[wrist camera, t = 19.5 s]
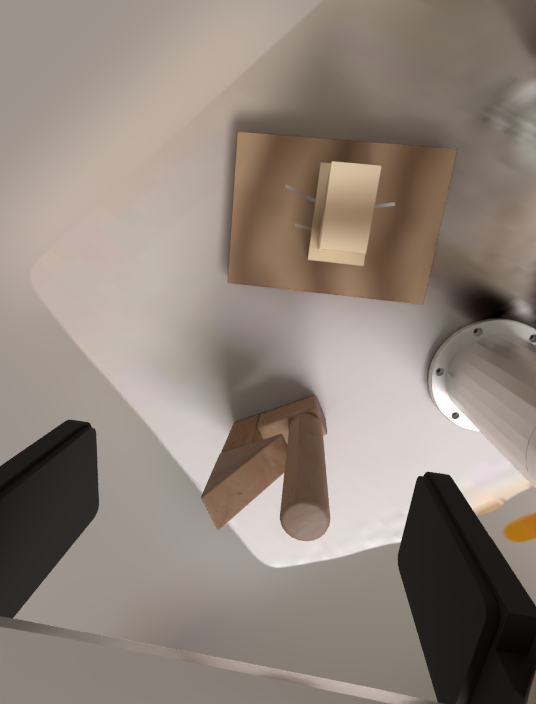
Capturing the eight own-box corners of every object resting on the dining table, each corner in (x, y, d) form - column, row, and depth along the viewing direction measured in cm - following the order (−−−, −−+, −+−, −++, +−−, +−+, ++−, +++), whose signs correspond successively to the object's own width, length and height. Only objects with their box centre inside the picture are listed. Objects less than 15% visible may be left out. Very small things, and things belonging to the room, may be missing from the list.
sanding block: (319, 172, 33) (323, 144, 25) (373, 177, 33) (395, 151, 25) (307, 259, 35) (307, 260, 27) (357, 264, 35) (373, 268, 27)
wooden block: (233, 421, 43) (184, 531, 26) (315, 393, 41) (321, 492, 24) (244, 446, 44) (205, 569, 27) (326, 420, 42) (340, 535, 25)
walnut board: (448, 154, 34) (457, 148, 32) (417, 301, 37) (423, 304, 35) (241, 138, 35) (237, 131, 33) (231, 281, 39) (227, 282, 37)
